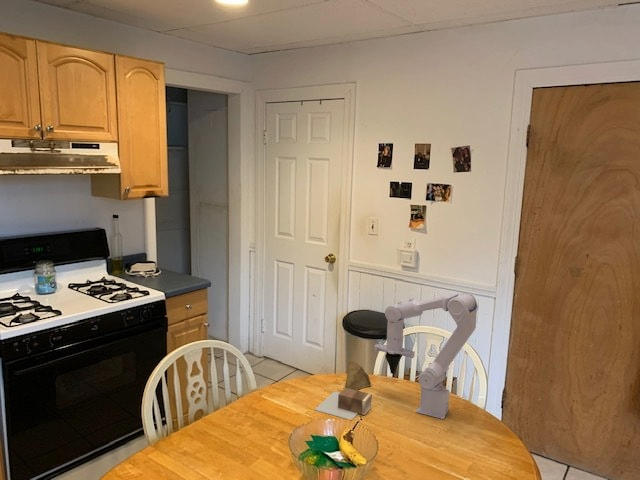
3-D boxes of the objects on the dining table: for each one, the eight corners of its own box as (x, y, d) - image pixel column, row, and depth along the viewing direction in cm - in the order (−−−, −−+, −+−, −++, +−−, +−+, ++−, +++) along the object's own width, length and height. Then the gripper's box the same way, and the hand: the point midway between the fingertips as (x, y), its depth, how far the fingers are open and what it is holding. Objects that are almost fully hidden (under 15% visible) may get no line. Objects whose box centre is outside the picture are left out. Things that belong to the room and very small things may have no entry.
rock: (372, 375, 189) (347, 370, 190) (375, 364, 183) (349, 359, 184) (368, 401, 182) (342, 395, 183) (371, 390, 176) (344, 384, 177)
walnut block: (371, 394, 167) (345, 387, 171) (365, 401, 161) (338, 394, 166) (371, 407, 167) (345, 400, 172) (364, 415, 162) (337, 407, 167)
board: (369, 400, 173) (369, 400, 173) (351, 420, 159) (351, 419, 159) (334, 392, 179) (334, 391, 179) (314, 410, 165) (314, 409, 165)
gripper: (371, 336, 173) (370, 372, 175) (411, 343, 166) (409, 381, 168) (378, 331, 179) (377, 365, 181) (417, 337, 172) (415, 373, 174)
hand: (393, 372), depth 175 cm, fingers closed
